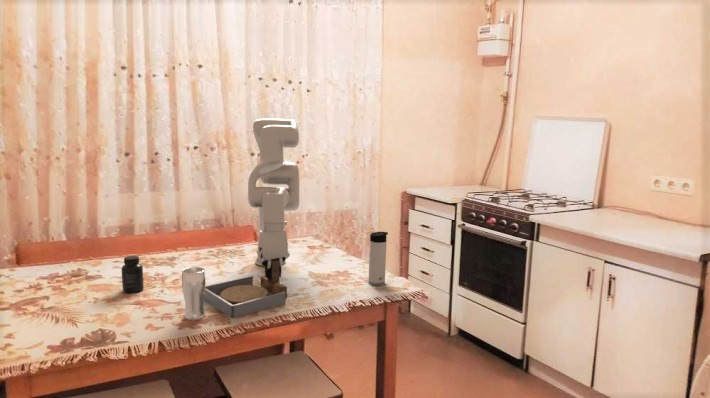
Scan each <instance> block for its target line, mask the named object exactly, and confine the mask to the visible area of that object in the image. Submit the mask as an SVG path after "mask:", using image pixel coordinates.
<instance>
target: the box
mask: <svg viewBox="0 0 710 398" xmlns="http://www.w3.org/2000/svg"><path fill="white" fill-rule="evenodd" d="M239 285H254V276H253V275H248V276H243V277H239V278H235V279H231V280H225V281H221V282H217V283H212V284H209V285H205V294H204V300H203V301H204V302H207V304H209V305H211V306H212V307H214V308H216V309H217V310H219V311H220V312H221V313H223V314H225V315H226V316H228V317H229V318H230V319H235V318H239V317H242V316H245V315H249V314H254V313H257V312H261V311H264V310H267V309H272V308H275V307H278V306H282V305H285V304H286V298H285V292H281V293H277V294H270V295H269V294H268V296H265V297H262V298H258V299H254V300H250V301H246V302H242V303H239V304H235V305H232V304H231V303H229V302H228V301H226V300H224V299H223V298H221V297H220V294H221V292H222V291H223V290H224V289H227V288H229V287H233V286H239Z"/></svg>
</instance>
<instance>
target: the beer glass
mask: <svg viewBox="0 0 710 398" xmlns="http://www.w3.org/2000/svg"><path fill="white" fill-rule="evenodd" d="M181 272H182V273H181V289H182V294H183V298H184V303H185V304H184V305H185V310H184V318H185V319H186V320H190V321H195V320H200V319H203V318H204V317H205V316H206V315H205V313H206V312H205V309H204V301H205V300H204V294H205V286H206V272H205V268H204V267H200V266H191V267H190V266H189V267H186V268H183V269H182V271H181Z"/></svg>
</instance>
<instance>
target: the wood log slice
mask: <svg viewBox="0 0 710 398" xmlns="http://www.w3.org/2000/svg"><path fill="white" fill-rule="evenodd" d="M265 296H269V291H267V289H265V288H263V287H261V285H255V284H253V285H239V286H233V287H229V288H227V289H224V290H223V291H222V292H221V294H220V295H219V297H221V298H223V299H224V300H226V301H228V302H229V303H231V304H232V305H235V304H239V303H242V302H246V301H250V300H254V299H258V298H262V297H265Z"/></svg>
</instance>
